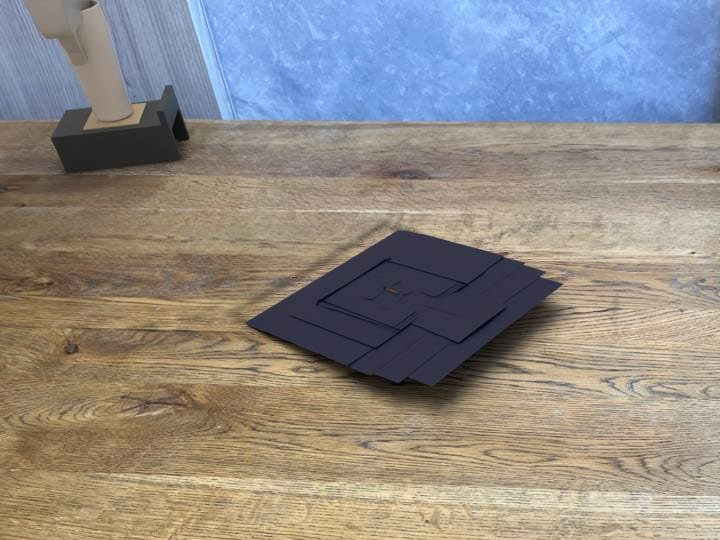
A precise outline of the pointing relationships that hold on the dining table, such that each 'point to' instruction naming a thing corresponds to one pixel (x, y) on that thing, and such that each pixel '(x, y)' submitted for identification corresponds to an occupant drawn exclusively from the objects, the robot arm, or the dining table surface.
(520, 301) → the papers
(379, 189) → the dining table surface
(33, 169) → the dining table surface
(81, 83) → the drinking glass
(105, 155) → the dark box with label
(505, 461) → the dining table surface
